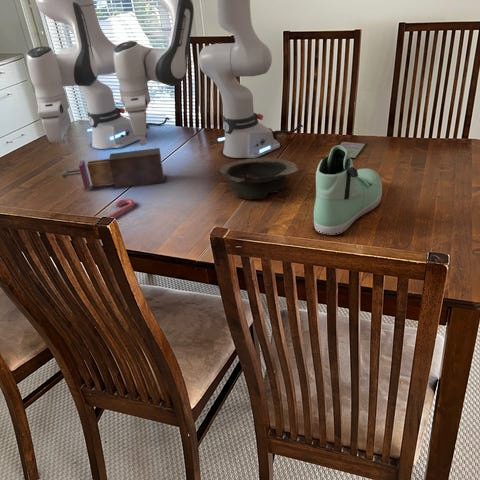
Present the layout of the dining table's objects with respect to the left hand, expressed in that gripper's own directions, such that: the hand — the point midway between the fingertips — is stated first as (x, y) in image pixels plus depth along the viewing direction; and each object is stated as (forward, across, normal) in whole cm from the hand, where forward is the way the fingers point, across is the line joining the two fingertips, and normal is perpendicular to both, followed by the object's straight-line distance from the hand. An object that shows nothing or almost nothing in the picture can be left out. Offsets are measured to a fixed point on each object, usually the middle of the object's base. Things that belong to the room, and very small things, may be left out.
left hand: (64, 146), depth 155 cm
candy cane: (+16, +22, +15) cm, 31 cm away
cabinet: (+16, 0, +22) cm, 27 cm away
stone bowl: (+16, +17, +60) cm, 64 cm away
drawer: (+15, 0, +8) cm, 17 cm away
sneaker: (+16, +38, +82) cm, 92 cm away
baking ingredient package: (+16, -5, +98) cm, 99 cm away
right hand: (+1, 0, +25) cm, 25 cm away
